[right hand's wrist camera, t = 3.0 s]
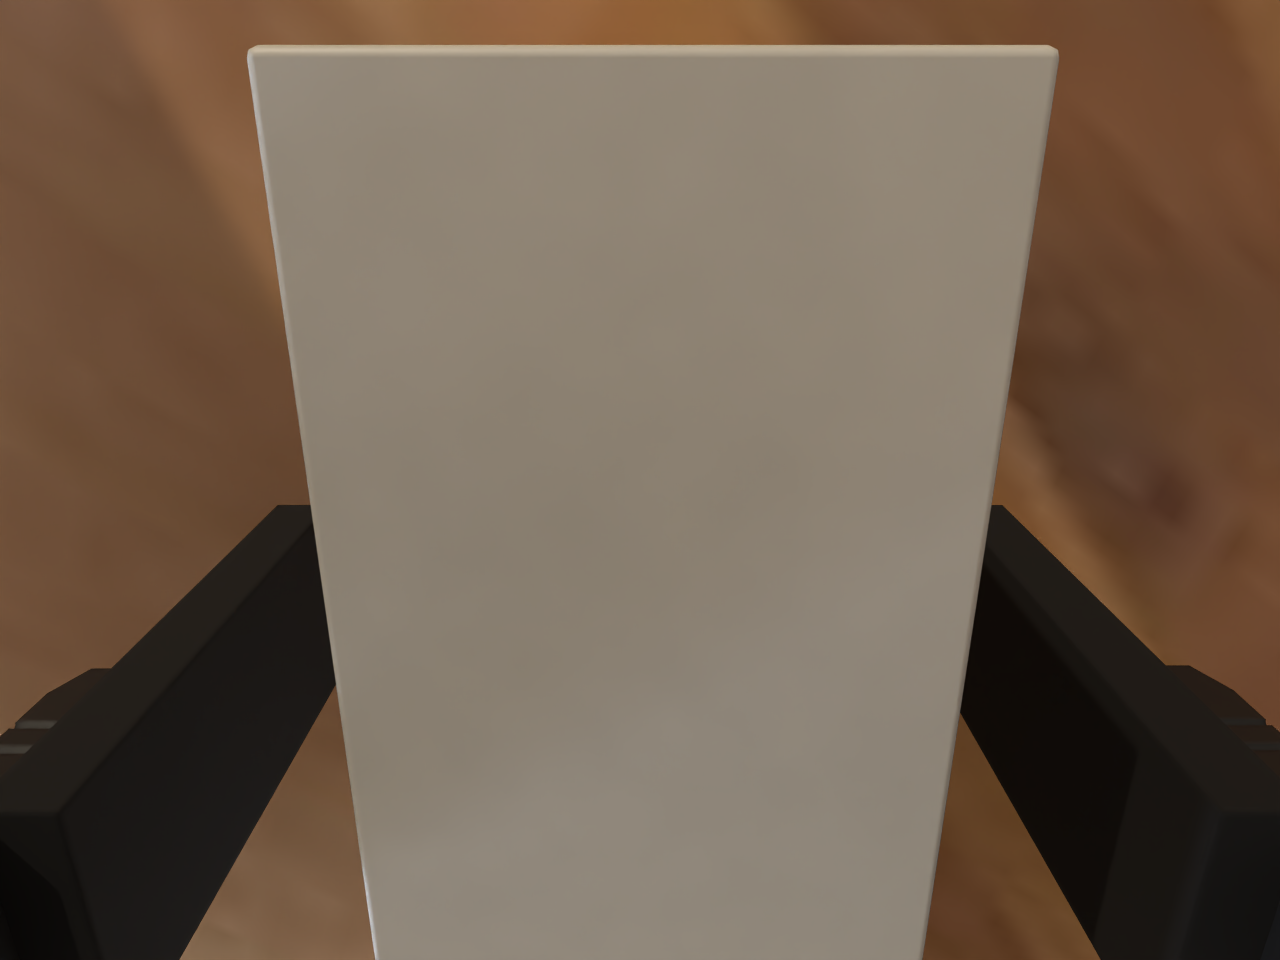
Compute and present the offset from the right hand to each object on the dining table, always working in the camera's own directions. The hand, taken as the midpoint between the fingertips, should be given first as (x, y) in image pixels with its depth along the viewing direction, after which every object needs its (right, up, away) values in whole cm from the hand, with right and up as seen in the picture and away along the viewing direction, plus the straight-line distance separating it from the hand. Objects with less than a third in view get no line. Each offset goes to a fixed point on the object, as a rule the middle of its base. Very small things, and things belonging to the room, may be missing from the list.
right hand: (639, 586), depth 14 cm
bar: (0, -21, +10) cm, 23 cm away
